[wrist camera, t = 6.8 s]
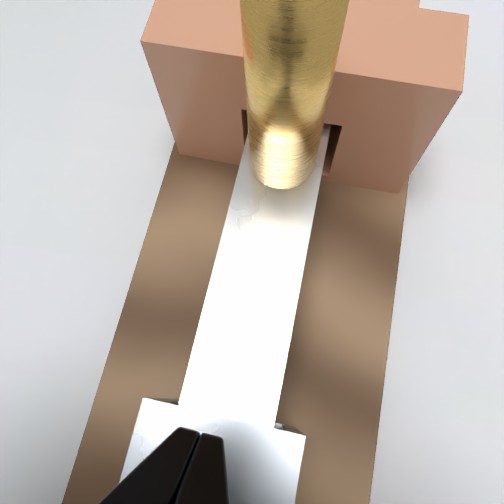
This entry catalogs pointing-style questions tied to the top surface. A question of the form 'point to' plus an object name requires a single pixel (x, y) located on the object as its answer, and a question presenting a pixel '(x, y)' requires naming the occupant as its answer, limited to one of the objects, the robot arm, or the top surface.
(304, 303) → the walnut board
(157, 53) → the terracotta socket
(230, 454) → the grey rectangular block
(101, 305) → the top surface
